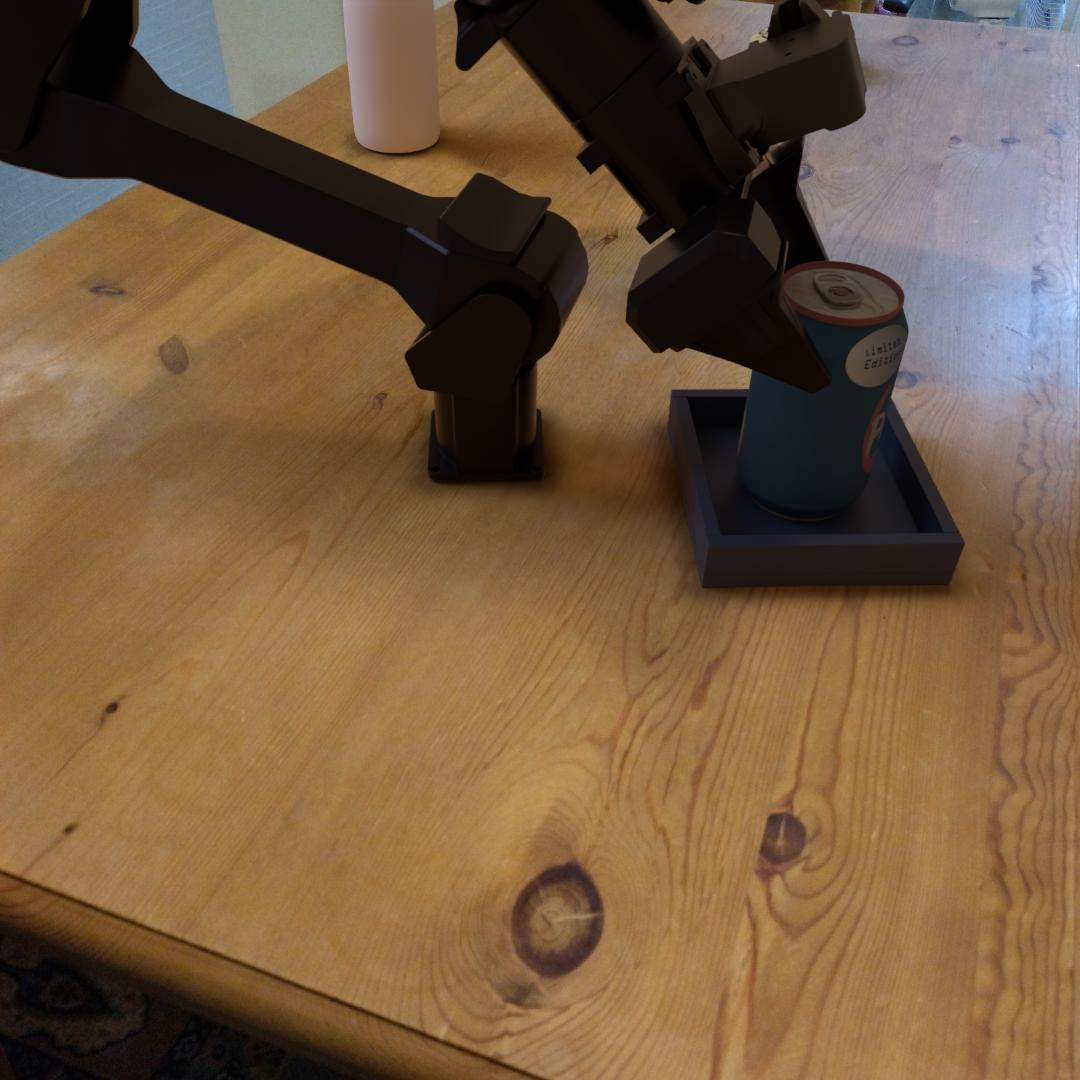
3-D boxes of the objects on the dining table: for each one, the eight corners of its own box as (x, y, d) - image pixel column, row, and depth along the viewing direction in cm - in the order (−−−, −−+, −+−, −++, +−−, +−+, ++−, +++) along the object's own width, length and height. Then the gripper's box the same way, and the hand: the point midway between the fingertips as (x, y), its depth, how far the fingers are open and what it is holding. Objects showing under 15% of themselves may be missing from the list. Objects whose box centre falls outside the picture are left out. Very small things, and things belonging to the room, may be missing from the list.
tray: (950, 584, 53) (966, 543, 51) (701, 587, 53) (708, 546, 51) (875, 427, 63) (886, 387, 62) (666, 428, 63) (671, 389, 61)
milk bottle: (452, 149, 94) (442, -110, 81) (367, 160, 92) (343, -105, 79) (426, 119, 100) (413, -128, 87) (346, 129, 98) (320, -124, 84)
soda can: (882, 524, 55) (943, 321, 47) (754, 535, 55) (795, 330, 47) (834, 445, 61) (883, 250, 53) (717, 455, 60) (749, 258, 52)
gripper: (751, 5, 34) (1001, 349, 40) (789, -107, 48) (972, 161, 53) (515, 208, 41) (758, 479, 46) (608, 59, 55) (787, 282, 60)
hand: (827, 336), depth 51 cm, fingers open, 9 cm apart
